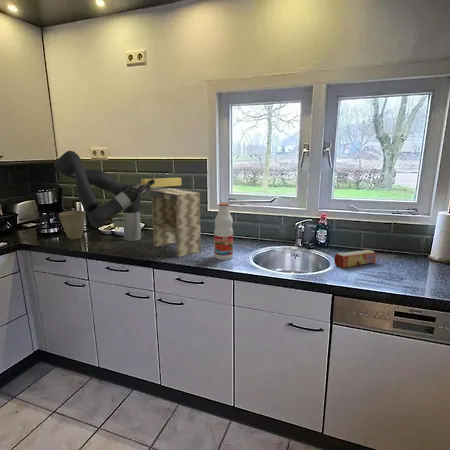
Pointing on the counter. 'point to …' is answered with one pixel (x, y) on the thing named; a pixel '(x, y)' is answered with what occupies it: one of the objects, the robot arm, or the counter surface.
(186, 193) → the beige zigzag patterned stand
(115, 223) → the food container
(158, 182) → the spaghetti box
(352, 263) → the snack package
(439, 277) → the counter surface
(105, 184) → the robot arm
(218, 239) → the fruit juice
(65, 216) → the plant pot
